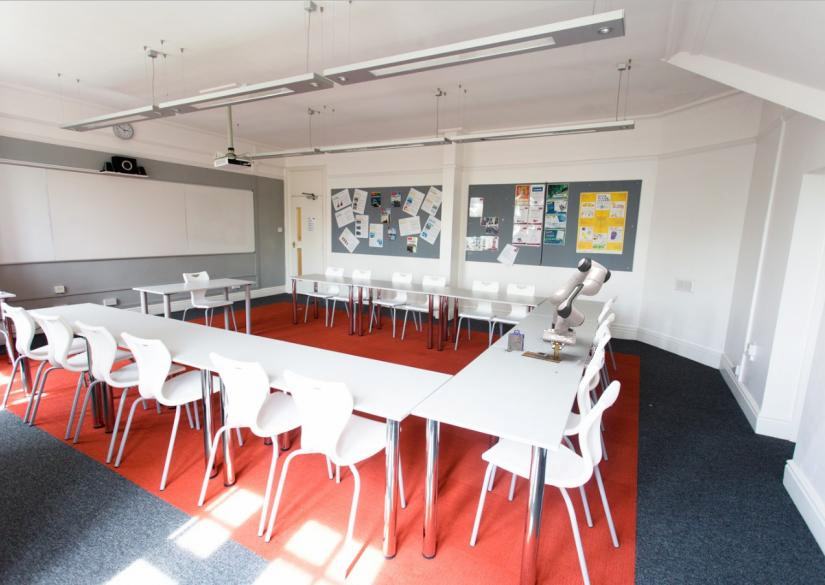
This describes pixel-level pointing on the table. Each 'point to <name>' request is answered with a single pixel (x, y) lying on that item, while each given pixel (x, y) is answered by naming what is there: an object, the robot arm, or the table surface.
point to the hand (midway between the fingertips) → (556, 349)
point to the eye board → (542, 356)
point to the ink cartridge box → (515, 341)
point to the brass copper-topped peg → (556, 350)
